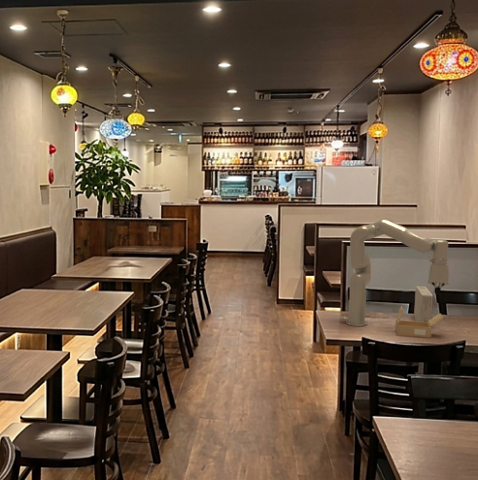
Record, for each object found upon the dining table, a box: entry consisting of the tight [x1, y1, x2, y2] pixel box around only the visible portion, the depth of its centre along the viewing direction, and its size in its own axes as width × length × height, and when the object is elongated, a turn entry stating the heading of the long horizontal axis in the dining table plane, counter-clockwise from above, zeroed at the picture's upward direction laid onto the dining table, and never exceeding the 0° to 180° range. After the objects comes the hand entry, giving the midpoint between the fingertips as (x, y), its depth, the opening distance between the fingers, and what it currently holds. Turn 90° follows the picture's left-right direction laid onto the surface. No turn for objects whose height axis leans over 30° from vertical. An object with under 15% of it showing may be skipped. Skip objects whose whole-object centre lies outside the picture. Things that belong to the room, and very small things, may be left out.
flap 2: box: [429, 313, 444, 327], centre depth 299 cm, size 1×11×8 cm
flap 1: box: [395, 305, 404, 323], centre depth 303 cm, size 1×11×8 cm, turn 169°
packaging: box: [413, 285, 434, 327], centre depth 329 cm, size 30×6×20 cm, turn 168°
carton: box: [394, 319, 433, 339], centre depth 302 cm, size 18×12×6 cm
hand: (437, 294), depth 298 cm, fingers closed
